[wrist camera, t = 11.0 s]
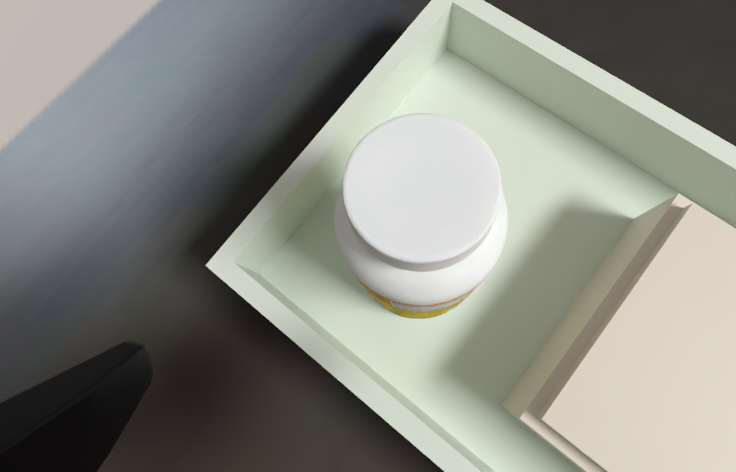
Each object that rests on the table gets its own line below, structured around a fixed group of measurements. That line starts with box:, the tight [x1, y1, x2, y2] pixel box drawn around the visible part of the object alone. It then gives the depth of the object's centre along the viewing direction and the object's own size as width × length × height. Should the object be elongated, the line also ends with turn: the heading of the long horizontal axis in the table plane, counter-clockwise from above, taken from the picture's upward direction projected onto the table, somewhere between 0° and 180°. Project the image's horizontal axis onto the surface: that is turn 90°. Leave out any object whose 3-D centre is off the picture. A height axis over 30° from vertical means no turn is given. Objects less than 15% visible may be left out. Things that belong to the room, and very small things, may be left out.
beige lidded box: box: [501, 193, 736, 472], centre depth 17 cm, size 8×10×4 cm
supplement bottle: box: [334, 113, 508, 319], centre depth 16 cm, size 5×5×10 cm
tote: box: [205, 0, 736, 472], centre depth 19 cm, size 22×16×4 cm
